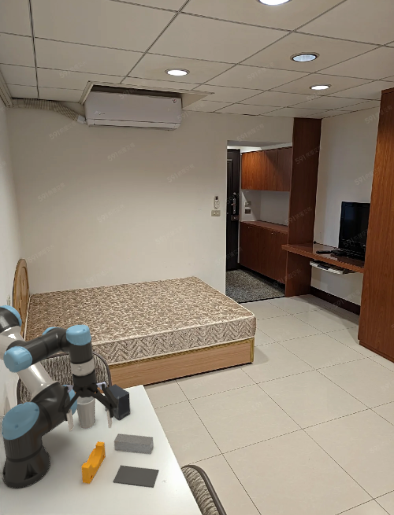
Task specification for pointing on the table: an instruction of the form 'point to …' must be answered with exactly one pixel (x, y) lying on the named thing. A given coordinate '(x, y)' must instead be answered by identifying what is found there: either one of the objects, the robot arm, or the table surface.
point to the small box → (120, 402)
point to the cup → (86, 411)
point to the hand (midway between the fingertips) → (91, 427)
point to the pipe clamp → (93, 462)
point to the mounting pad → (136, 476)
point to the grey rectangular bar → (133, 443)
